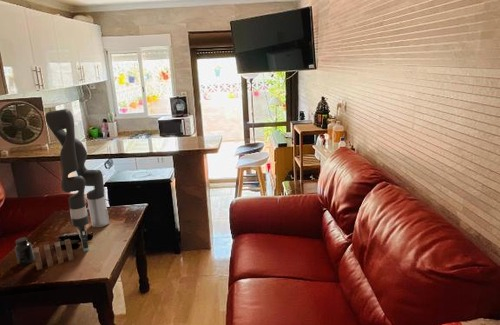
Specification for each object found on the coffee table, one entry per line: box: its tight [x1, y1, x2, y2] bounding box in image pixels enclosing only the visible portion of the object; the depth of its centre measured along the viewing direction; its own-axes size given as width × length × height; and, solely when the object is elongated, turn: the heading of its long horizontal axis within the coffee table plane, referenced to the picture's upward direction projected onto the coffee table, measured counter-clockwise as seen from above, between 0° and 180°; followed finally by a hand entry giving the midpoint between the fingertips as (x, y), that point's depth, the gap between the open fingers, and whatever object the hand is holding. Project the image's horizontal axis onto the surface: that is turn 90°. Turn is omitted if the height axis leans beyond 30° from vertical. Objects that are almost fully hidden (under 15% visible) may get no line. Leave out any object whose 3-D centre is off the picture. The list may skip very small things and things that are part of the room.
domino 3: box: [54, 241, 65, 265], centre depth 174 cm, size 2×5×9 cm, turn 32°
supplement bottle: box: [14, 236, 35, 266], centre depth 174 cm, size 7×7×12 cm
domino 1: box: [32, 246, 43, 271], centre depth 169 cm, size 2×5×9 cm, turn 32°
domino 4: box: [64, 238, 75, 262], centre depth 176 cm, size 2×5×9 cm, turn 32°
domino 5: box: [80, 238, 90, 253], centre depth 184 cm, size 2×5×9 cm, turn 32°
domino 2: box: [43, 243, 54, 267], centre depth 172 cm, size 2×5×9 cm, turn 32°
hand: (84, 244), depth 185 cm, fingers open, 7 cm apart
